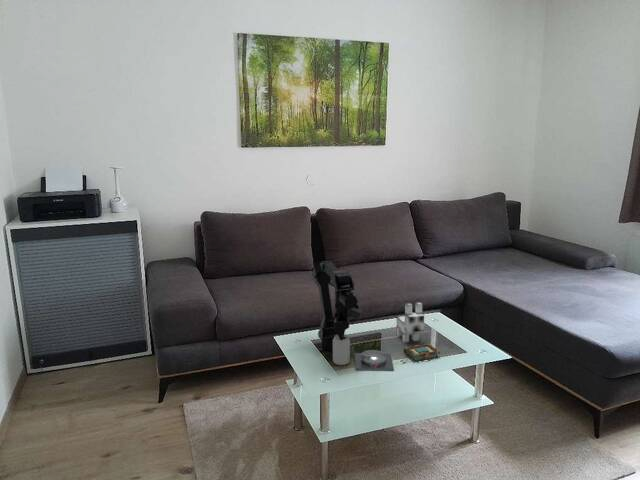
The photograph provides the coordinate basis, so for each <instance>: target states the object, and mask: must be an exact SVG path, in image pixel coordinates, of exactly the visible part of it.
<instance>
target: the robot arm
mask: <svg viewBox="0 0 640 480" xmlns="http://www.w3.org/2000/svg"><path fill="white" fill-rule="evenodd" d="M311 274H312V275H311V276H312V279H313V282H314V283H315V285H316V286H317V287H318V292H319V299H320V306H321V312H322V313H321V314H322V320H321V322H320V328H319V330H318V331H317V335H318V338H319V339H320V341H321V349H325V350H324V351H327V350H328V351H330V352H331V351H333V339H334V336H335V335H338V336H339V338H340V340H343V337H344V334H345V333H346V331H347V330H348V329H349V328H350V320H349V319H348V318H350V317H351V318H353V319H356V320H360V318H361V315H362V313H363V312H362V309H361V308H359V304H358V301H359V300H358V299H357V296H355V295H354V292H353V291H355V283H354V281H353V278H352V275H351V274H350V273H349V272H348V271H346V270H341V269H339V268H338V267H337V266H336V265H335V264H334V263H333V262H332V261H330V260H327V261H326V260H324V261H321V262H320V263H319V264H318V265H317V266H314V267H313V270H312V273H311ZM330 283H332V285H333V289H334V314H333V308H332V301H331V294H330V293H331V292H330V287H329V286H330ZM328 351H327V352H328Z"/></svg>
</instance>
